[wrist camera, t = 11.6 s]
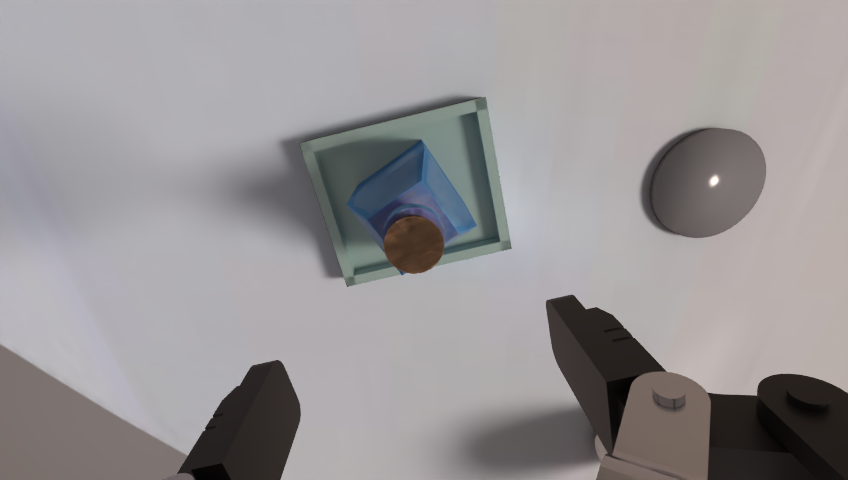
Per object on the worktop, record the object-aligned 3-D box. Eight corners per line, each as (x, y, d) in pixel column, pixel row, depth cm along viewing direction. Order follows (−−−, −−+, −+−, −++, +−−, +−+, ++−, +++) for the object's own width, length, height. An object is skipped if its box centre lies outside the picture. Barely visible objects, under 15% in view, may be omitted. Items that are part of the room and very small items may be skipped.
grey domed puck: (647, 143, 32) (653, 144, 31) (760, 116, 31) (769, 116, 31) (652, 245, 35) (657, 248, 34) (755, 221, 34) (762, 224, 34)
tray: (305, 141, 31) (299, 143, 29) (481, 97, 30) (485, 97, 28) (349, 277, 35) (347, 286, 33) (506, 241, 34) (511, 248, 32)
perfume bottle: (421, 139, 30) (429, 162, 19) (464, 203, 32) (495, 258, 21) (357, 185, 31) (329, 232, 20) (403, 244, 33) (400, 318, 22)
